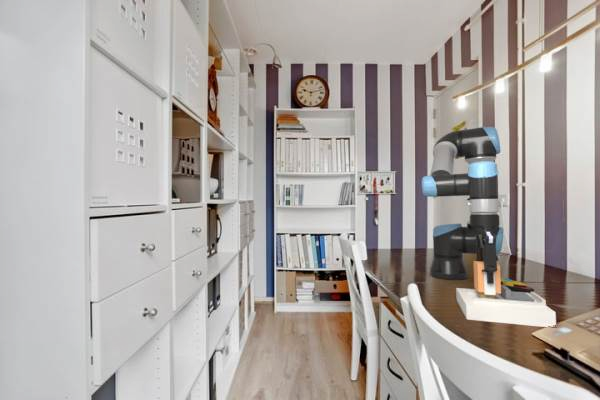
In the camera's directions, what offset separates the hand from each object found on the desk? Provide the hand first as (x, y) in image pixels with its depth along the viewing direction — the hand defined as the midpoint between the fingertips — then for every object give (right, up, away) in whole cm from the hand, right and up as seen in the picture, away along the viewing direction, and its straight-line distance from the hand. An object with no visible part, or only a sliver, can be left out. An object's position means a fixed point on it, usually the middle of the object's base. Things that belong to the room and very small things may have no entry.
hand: (487, 291), depth 88 cm
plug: (0, -4, 0) cm, 4 cm away
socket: (+3, -6, -1) cm, 7 cm away
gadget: (+18, -6, +15) cm, 24 cm away
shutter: (+7, -1, -2) cm, 7 cm away
